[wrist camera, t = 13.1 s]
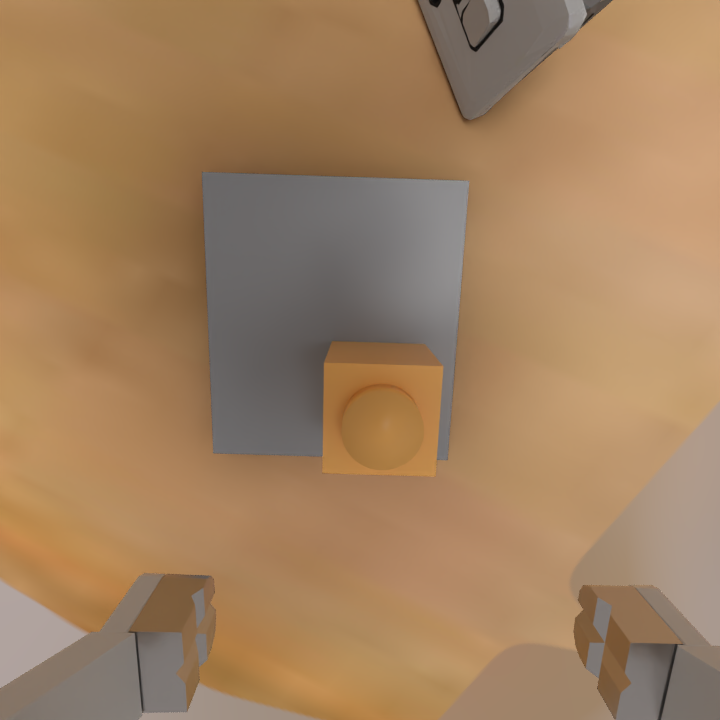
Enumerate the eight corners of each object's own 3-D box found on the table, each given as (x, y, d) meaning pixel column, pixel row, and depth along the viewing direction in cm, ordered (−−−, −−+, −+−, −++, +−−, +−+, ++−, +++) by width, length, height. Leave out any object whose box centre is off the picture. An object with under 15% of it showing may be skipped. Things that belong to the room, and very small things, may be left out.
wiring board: (210, 176, 28) (174, 155, 22) (463, 185, 28) (488, 165, 23) (220, 444, 32) (191, 481, 26) (443, 451, 32) (460, 489, 26)
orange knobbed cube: (331, 341, 28) (321, 369, 21) (424, 343, 28) (449, 373, 21) (330, 428, 30) (319, 487, 22) (419, 431, 30) (440, 490, 22)
